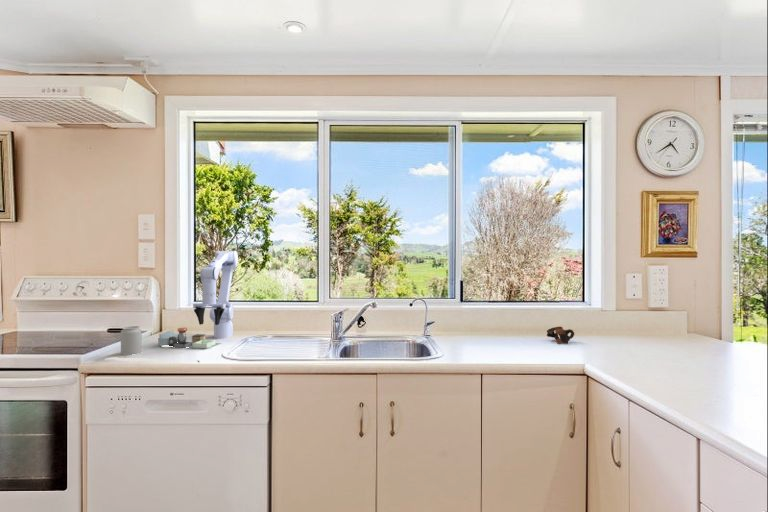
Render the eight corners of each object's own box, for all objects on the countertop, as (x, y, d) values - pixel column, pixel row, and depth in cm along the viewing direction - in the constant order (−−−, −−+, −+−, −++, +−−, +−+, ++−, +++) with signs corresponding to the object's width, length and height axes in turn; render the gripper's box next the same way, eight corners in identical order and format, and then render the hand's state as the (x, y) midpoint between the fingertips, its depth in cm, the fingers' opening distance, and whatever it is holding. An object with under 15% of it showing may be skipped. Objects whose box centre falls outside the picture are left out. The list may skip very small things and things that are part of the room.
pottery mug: (551, 345, 203) (545, 328, 207) (550, 350, 211) (544, 333, 215) (578, 339, 201) (571, 322, 205) (576, 344, 210) (569, 328, 213)
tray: (201, 344, 199) (201, 339, 199) (215, 345, 198) (215, 340, 198) (192, 348, 192) (192, 343, 192) (206, 348, 191) (206, 343, 191)
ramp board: (173, 344, 206) (173, 338, 206) (221, 345, 202) (221, 339, 202) (155, 350, 194) (155, 343, 194) (206, 352, 190) (206, 345, 190)
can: (125, 359, 178) (125, 329, 178) (117, 356, 183) (117, 327, 183) (145, 355, 184) (144, 326, 184) (136, 353, 189) (136, 324, 189)
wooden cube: (197, 342, 203) (197, 334, 203) (205, 342, 203) (205, 334, 203) (192, 344, 199) (192, 335, 199) (200, 344, 199) (200, 336, 199)
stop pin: (181, 345, 197) (180, 327, 197) (189, 345, 197) (188, 327, 197) (175, 347, 194) (175, 329, 194) (183, 347, 193) (183, 329, 193)
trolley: (173, 341, 205) (173, 330, 205) (188, 342, 204) (187, 330, 204) (158, 346, 195) (158, 334, 195) (173, 347, 194) (173, 335, 194)
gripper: (189, 294, 197) (189, 325, 196) (219, 294, 194) (219, 325, 194) (198, 293, 204) (198, 323, 203) (227, 293, 201) (227, 323, 201)
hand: (209, 324), depth 199 cm, fingers open, 7 cm apart
